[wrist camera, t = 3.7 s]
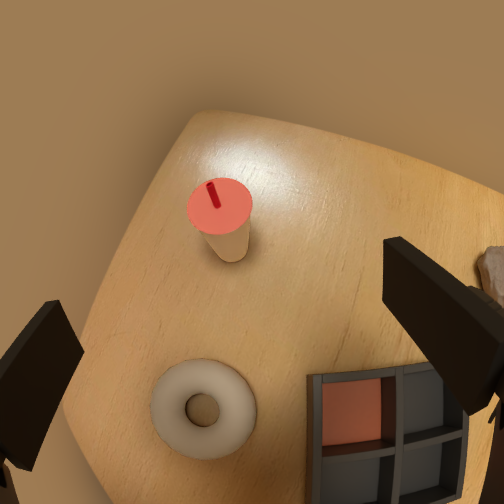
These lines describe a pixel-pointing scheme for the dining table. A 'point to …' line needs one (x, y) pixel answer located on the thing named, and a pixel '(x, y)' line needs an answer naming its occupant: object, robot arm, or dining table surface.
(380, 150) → the dining table surface
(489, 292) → the stone
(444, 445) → the grid
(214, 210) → the cup
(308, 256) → the dining table surface
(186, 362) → the donut
